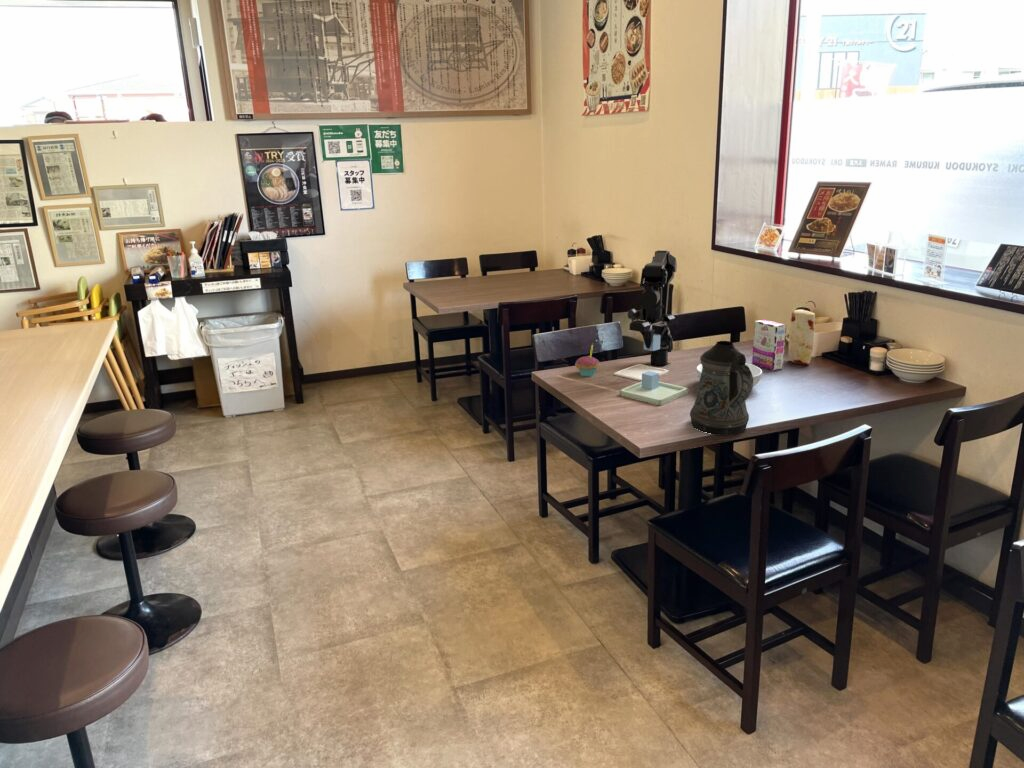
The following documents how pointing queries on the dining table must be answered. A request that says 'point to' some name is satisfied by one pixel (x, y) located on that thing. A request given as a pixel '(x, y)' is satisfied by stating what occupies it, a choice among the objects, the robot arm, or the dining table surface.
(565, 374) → the dining table surface
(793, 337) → the food model
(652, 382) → the block
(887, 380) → the dining table surface
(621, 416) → the dining table surface
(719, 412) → the beer stein
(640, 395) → the tray
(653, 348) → the block
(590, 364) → the cupcake
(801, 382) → the dining table surface
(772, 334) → the candy bar box
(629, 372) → the dish
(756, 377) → the serving bowl
